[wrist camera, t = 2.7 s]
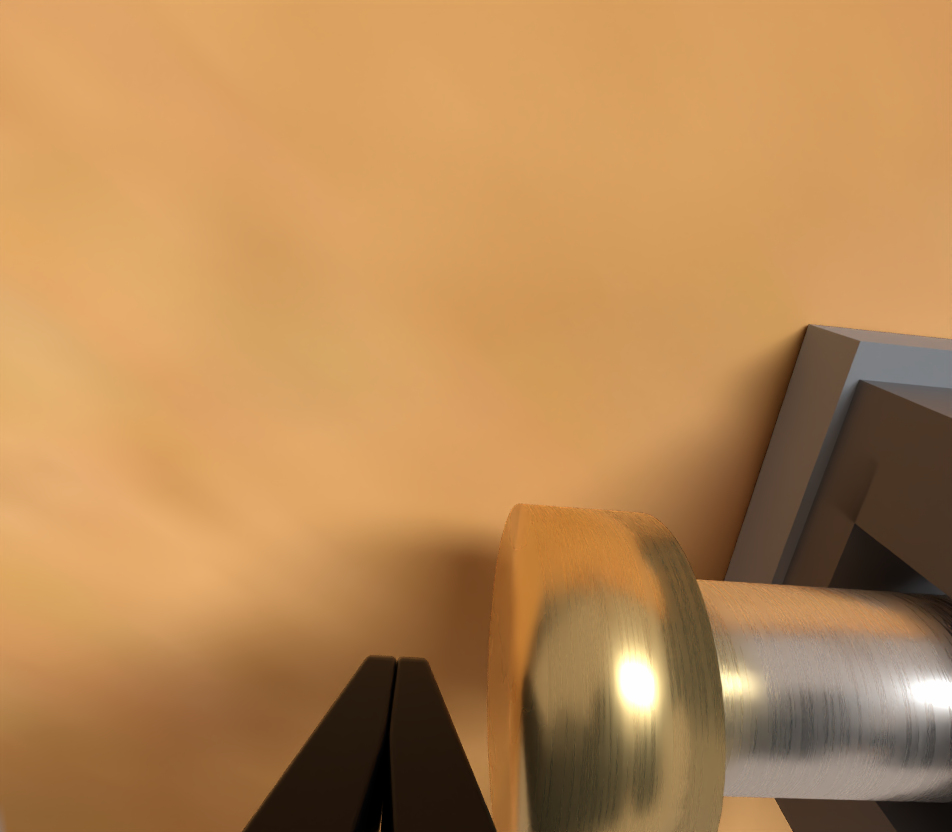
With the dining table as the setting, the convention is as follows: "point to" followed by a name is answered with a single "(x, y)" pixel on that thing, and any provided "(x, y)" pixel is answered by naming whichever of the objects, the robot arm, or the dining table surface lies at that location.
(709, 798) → the shaft
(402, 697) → the robot arm
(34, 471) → the dining table surface
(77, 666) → the dining table surface
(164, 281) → the dining table surface
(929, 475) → the bearing bracket
